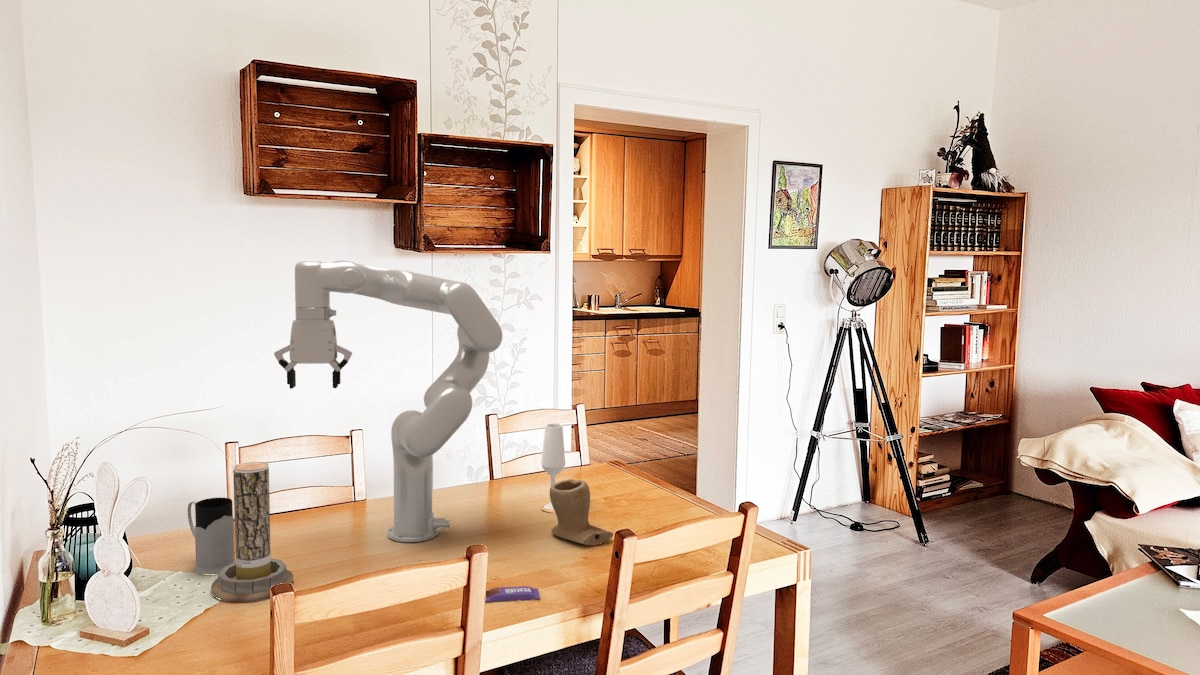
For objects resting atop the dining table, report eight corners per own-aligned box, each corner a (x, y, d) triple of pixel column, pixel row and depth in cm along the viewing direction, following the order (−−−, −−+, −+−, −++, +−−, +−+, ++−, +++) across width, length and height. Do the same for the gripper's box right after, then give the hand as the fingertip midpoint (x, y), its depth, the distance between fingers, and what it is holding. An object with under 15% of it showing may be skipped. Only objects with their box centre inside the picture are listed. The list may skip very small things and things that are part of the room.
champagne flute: (568, 508, 228) (570, 425, 225) (555, 514, 222) (556, 429, 219) (549, 503, 231) (551, 421, 228) (535, 509, 225) (537, 425, 223)
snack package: (538, 584, 173) (540, 594, 168) (537, 592, 173) (540, 603, 168) (483, 586, 171) (484, 597, 166) (483, 595, 171) (484, 606, 166)
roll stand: (300, 570, 180) (300, 554, 180) (283, 601, 165) (283, 583, 164) (225, 572, 178) (224, 556, 177) (200, 604, 162) (199, 586, 162)
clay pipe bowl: (539, 537, 205) (540, 479, 203) (573, 526, 213) (574, 471, 211) (580, 554, 194) (581, 493, 192) (614, 542, 202) (616, 484, 201)
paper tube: (258, 588, 167) (255, 471, 164) (229, 585, 169) (226, 469, 166) (277, 576, 174) (275, 463, 171) (249, 572, 175) (246, 460, 172)
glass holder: (208, 578, 175) (206, 511, 173) (171, 563, 182) (169, 499, 180) (245, 565, 182) (243, 501, 180) (208, 551, 189) (206, 490, 188)
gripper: (353, 313, 192) (354, 384, 194) (277, 313, 189) (279, 384, 191) (348, 316, 184) (349, 390, 186) (269, 315, 182) (271, 390, 184)
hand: (314, 387), depth 189 cm, fingers open, 9 cm apart
